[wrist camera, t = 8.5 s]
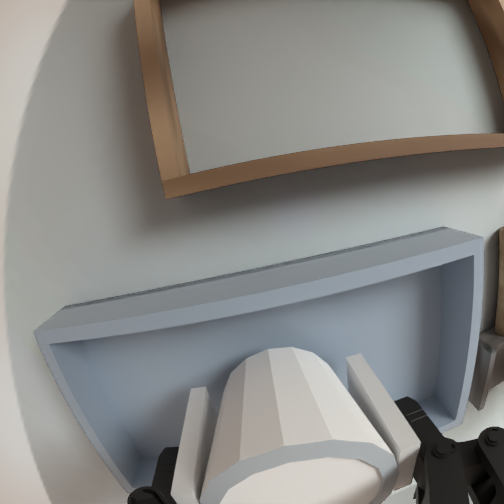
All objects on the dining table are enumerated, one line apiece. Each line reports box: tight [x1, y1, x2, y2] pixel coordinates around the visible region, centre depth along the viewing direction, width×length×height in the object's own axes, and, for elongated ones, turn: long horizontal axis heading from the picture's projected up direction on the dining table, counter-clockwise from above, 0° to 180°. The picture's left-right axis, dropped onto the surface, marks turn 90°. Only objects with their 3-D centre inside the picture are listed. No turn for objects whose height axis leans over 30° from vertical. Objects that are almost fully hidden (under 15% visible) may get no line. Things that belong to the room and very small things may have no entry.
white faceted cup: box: [200, 347, 399, 504], centre depth 11 cm, size 7×7×7 cm
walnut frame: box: [134, 0, 504, 199], centre depth 12 cm, size 12×21×3 cm, turn 102°
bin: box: [33, 227, 484, 493], centre depth 15 cm, size 12×21×4 cm, turn 102°
